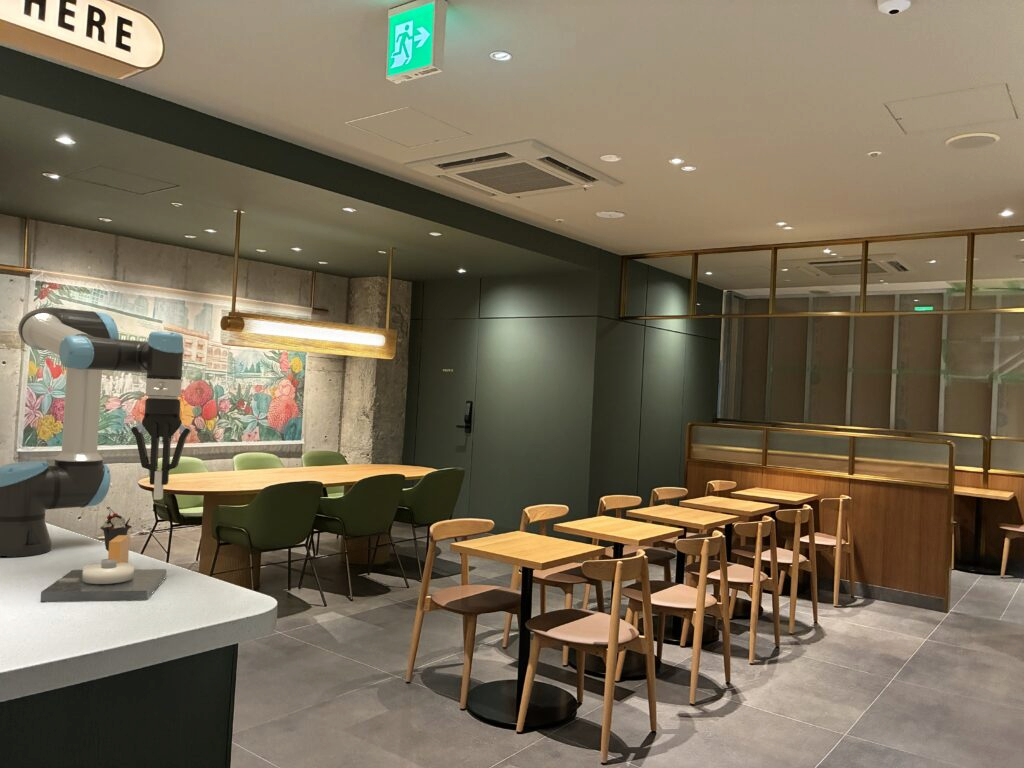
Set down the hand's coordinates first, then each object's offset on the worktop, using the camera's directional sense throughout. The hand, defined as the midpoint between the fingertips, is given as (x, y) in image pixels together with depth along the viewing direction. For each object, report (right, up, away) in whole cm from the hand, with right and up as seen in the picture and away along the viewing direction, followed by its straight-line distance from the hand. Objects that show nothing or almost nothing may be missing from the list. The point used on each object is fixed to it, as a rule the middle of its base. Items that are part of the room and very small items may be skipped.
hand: (158, 498), depth 180 cm
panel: (-6, -18, -11) cm, 22 cm away
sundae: (-15, -18, +9) cm, 25 cm away
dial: (-7, -16, -7) cm, 19 cm away
